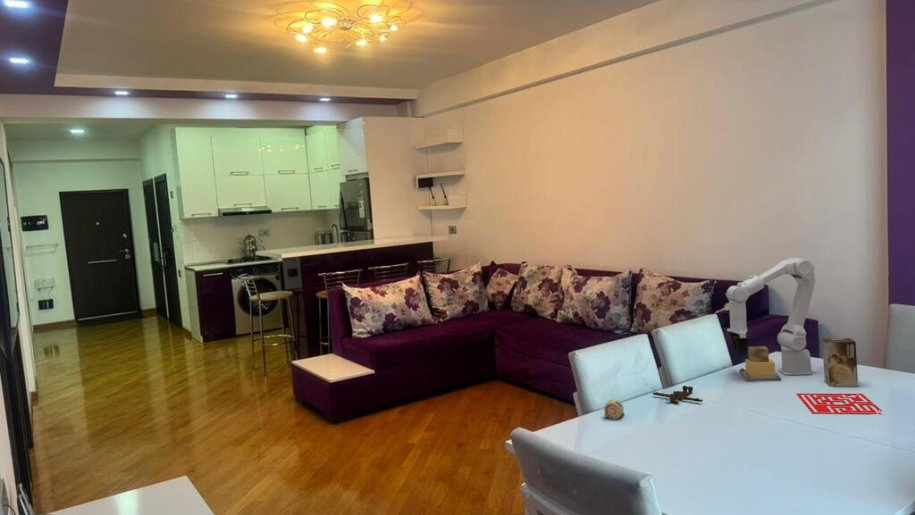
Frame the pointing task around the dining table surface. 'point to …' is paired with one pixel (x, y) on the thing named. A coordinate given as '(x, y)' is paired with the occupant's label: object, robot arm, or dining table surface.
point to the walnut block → (758, 354)
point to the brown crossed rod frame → (679, 395)
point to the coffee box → (840, 362)
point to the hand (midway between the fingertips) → (739, 352)
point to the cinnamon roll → (614, 409)
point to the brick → (760, 368)
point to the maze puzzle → (823, 409)
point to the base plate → (759, 377)
